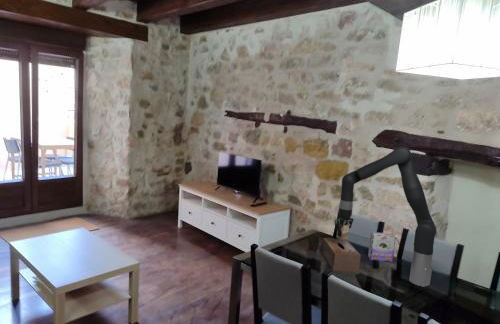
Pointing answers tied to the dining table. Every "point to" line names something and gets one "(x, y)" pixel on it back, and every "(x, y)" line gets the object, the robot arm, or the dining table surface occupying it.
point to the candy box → (381, 247)
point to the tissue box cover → (341, 255)
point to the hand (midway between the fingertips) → (342, 235)
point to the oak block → (344, 232)
